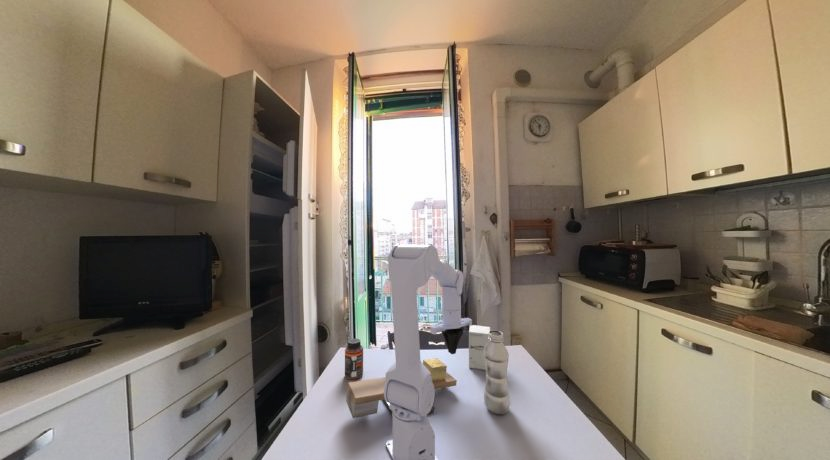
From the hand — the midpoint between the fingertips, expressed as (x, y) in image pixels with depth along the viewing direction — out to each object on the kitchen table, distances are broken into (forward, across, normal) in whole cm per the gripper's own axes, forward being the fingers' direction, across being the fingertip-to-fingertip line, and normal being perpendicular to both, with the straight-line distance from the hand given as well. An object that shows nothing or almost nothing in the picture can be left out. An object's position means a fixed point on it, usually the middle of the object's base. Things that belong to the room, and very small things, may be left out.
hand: (452, 352), depth 75 cm
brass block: (+5, +7, 0) cm, 9 cm away
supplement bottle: (+10, +25, -20) cm, 34 cm away
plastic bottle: (+10, -4, +14) cm, 18 cm away
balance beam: (+9, +17, 0) cm, 19 cm away
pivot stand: (+10, +16, 0) cm, 19 cm away
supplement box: (+10, -16, -5) cm, 20 cm away
